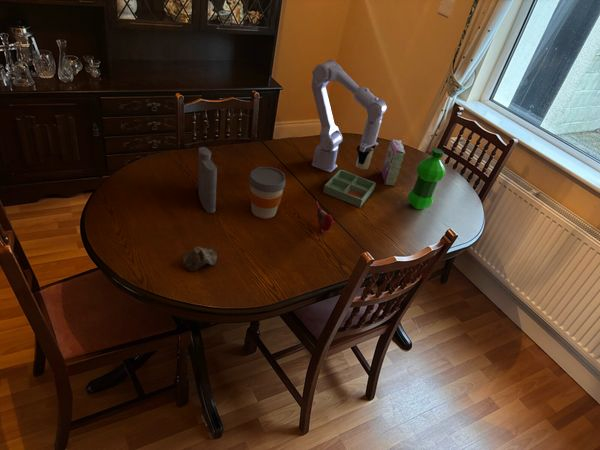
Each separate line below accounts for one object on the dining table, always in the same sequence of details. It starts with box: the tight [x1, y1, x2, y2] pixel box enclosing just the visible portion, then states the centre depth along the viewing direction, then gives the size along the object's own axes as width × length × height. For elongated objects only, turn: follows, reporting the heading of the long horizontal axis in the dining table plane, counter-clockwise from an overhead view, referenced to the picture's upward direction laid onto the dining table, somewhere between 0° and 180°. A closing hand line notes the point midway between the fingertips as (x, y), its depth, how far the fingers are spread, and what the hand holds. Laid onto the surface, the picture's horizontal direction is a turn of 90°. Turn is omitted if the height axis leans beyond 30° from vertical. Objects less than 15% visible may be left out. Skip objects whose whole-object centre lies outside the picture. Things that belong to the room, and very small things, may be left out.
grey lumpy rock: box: [182, 246, 218, 272], centre depth 133 cm, size 8×7×10 cm
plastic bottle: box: [407, 147, 446, 210], centre depth 173 cm, size 10×10×25 cm
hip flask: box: [197, 146, 218, 214], centre depth 155 cm, size 16×4×20 cm, turn 23°
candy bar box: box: [381, 138, 406, 187], centre depth 189 cm, size 11×5×16 cm, turn 179°
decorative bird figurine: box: [315, 199, 334, 235], centre depth 156 cm, size 3×18×10 cm, turn 15°
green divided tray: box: [322, 168, 377, 208], centre depth 180 cm, size 16×16×4 cm
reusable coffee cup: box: [248, 166, 286, 219], centre depth 157 cm, size 13×13×15 cm
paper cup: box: [355, 147, 375, 170], centre depth 183 cm, size 6×6×8 cm
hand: (363, 160), depth 184 cm, fingers closed on paper cup, 6 cm apart
